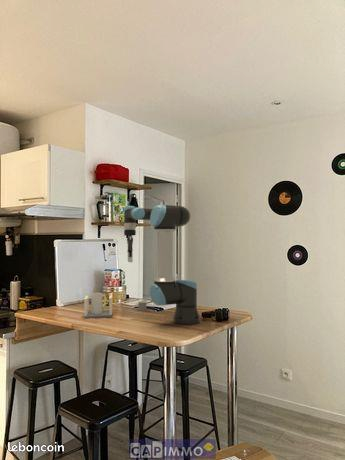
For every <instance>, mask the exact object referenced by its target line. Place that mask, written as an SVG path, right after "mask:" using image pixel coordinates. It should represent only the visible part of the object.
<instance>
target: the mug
mask: <svg viewBox="0 0 345 460" xmlns="http://www.w3.org/2000/svg"><path fill="white" fill-rule="evenodd" d="M90 298H91V299H90V300H91V301H90V303H91V307H90V308H91V309H90V310H91V311H92V314H101V313H102V309H103V308H104V309H105V308H106V305H107V297H106V294H105V293H104V294H103V292H92V293H90ZM103 298H104V303H103Z"/></svg>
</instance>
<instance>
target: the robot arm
mask: <svg viewBox="0 0 345 460" xmlns="http://www.w3.org/2000/svg"><path fill="white" fill-rule="evenodd" d="M123 220H124V223H123V225H122V226H123V227H124V228H123V229H124V231H123V235H124V236H127V238H126V243H127V251H126V252H127V262H128V263H133V261H134V260H133V257H134V256H133V250H134V249H133V243H134V238H133V236H136V233H137V232H136V228H137V226H136V225H137V223H136V222H137V221H149V222H150V226H152V227H153V228H154V232H155V233H156V278H154V280H153V283H152V284H151V285H150V287H149V295H150V299H151V301H152V302H153V304H154V305H156V306H159V307H161V306H164V307H165V306H169V305H175V309H174V314H173V317H172V322H173V323H175V324H178V325H196V324H199V323H201V317H200V313H199V310H198V308H197V307H198V306H197V305H198V303H197V301H198V300H197V299H198V297H197V292H198V291H197V290H198V287H197V282H196V281H194V280H187V279H175V278H174V275H173V272H174V270H173V269H174V267H173V265H174V258H173V257H174V255H173V253H174V247H173V246H174V242H173V241H174V233H175V231H176V229H177V228H180V227H184V226H186V225H187V224H188V223H189V222H190V220H191V213H190V211H189V209H187V208H186V207H185V206H181V205H170V204H158V205H155V206H154V207H152V208H147V207H146V208H143V207H136V206H134V205H125V206H124V211H123Z"/></svg>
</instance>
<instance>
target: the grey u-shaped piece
mask: <svg viewBox="0 0 345 460" xmlns="http://www.w3.org/2000/svg"><path fill="white" fill-rule="evenodd" d="M83 302H84V305H83V307H84V309H83V311H84V313H83V319H85V320H86V319H87V320H88V319H90V318H92V319H112V318H113V294H110V295H109V299H108V302H109V304H108V305H109V306H108V307H109V308H104V309H103V308H102V313H101V314H92V311H91V309H89V303H90V302H89V295H85V296H84V298H83ZM90 320H91V319H90Z"/></svg>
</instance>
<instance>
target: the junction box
mask: <svg viewBox="0 0 345 460" xmlns="http://www.w3.org/2000/svg"><path fill="white" fill-rule="evenodd" d="M137 308H138V311H141V312H143V311H147V310H148V309H147V301H146V300H145V301H142V300H141V301H138V304H137Z"/></svg>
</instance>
